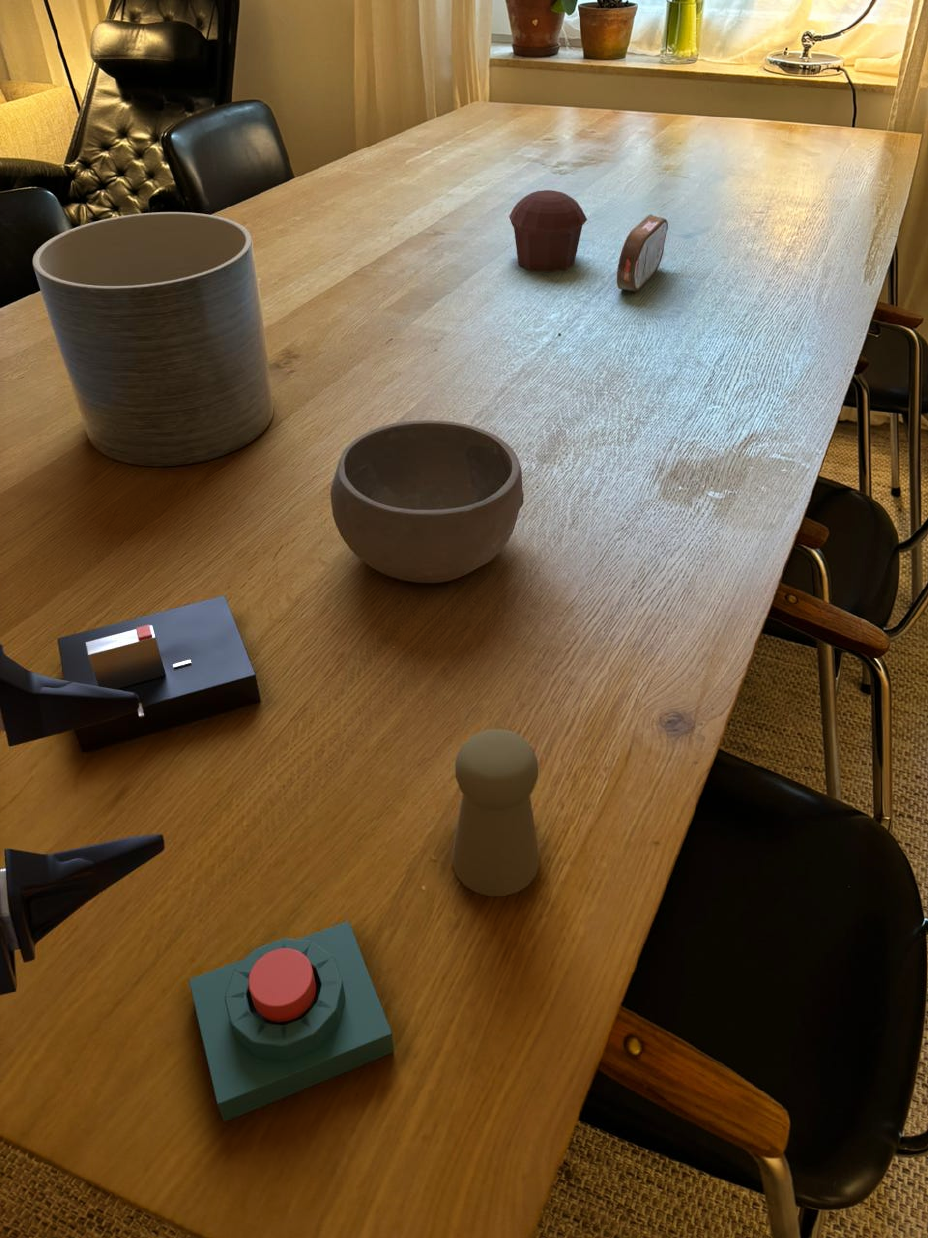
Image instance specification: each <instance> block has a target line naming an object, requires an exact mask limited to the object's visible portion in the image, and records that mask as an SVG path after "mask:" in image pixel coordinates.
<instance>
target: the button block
mask: <svg viewBox="0 0 928 1238" xmlns="http://www.w3.org/2000/svg"><path fill="white" fill-rule="evenodd" d="M283 948H287V949H294V950H297V951H299V952H301V953H302V954H304V955H305V956H306V957H307V958H308V959H309V961H310V963H311V965H312V969H313V973H314V978H315V983H316V994H315V998H314V1000H313V1002H312V1004H311V1006H310V1007H309V1008H308V1010H307V1011H306V1012H305V1013H304V1014H302V1015H301V1016H299V1017H298V1018H296V1019H294V1020H291V1021H287V1022H273V1021H270V1020H267V1019H265V1018H264V1017H262V1016H261V1015H260V1014H259V1013H258V1012H257V1010H256V1009H255V1006H254V1004H253V1000H252V997H251V993H250V990H249V985H248V980H249V975H250V972H251V970H252V968H253V966H254V965H255V963H256V962H257V961H258V960H259V959H260V958H261V957H262V956H264V955H265V954H267V953H268V952H271V951H273V950H277V949H283ZM188 984H189V987H190V991H191V996H192V1001H193V1006H194V1009H195V1014H196V1018H197V1023H198V1027H199V1031H200V1035H201V1040H202V1044H203V1049H204V1053H205V1057H206V1061H207V1065H208V1070H209V1073H210V1074H209V1075H210V1079H211V1084H212V1088H213V1092H214V1096H215V1101H216V1105H217V1107H218V1110H219V1113H220V1115H221V1118H222V1120H223V1122H224V1123H225V1122H228V1121H231V1120H234V1119H235V1118H238V1117H241V1116H243V1115H245V1114H248V1113H250V1112H253V1111H255V1110H258V1109H260V1108H262V1107H265V1106H267V1105H269V1104H272V1103H274V1102H277V1101H279V1100H281V1099H284V1098H287V1097H289V1096H292V1095H294V1094H296V1093H299V1092H301V1091H303V1090H306V1089H308V1088H310V1087H311V1088H312V1087H313V1086H315V1085H318V1084H320V1083H323V1082H325V1081H327V1080H330V1079H332V1078H334V1077H337V1076H340V1075H342V1074H344V1073H347V1072H349V1071H352V1070H354V1069H356V1068H359V1067H361V1066H364V1065H366V1064H368V1063H372V1062H374V1061H376V1060H379V1059H382V1058H383V1057H386V1056H388V1055H390V1054H393V1053H395V1048H394V1047H395V1046H394V1038H393V1032H392V1030H391V1027H390V1025H389V1022H388V1020H387V1016H386V1014H385V1012H384V1009H383V1006H382V1004H381V1001H380V999H379V996H378V993H377V991H376V988H375V985H374V982H373V979H372V977H371V975H370V973H369V970H368V967H367V965H366V962H365V960H364V957H363V953H362V952H361V949H360V946H359V943H358V941H357V938H356V936H355V934H354V931H353V928H352V925H351V923H350V921H349V920H346V921H344V922H341V923H339V924H336V925H333V926H330V927H328V928H325V929H322V930H320V931H317V932H314V933H311V934H308V935H306V936H304V937H301V938H298V939H297V938H287V937H286V938H285V937H284V938H280V939H277V940H274V941H272V942H269V943H266V944H264V945H261V946H259V947H256V948H255V949H253V950H252V951H251V952H250V953H249V954H248V955H247V956H246V957H245V958H243V959H240V960H238V961H235V962H232V963H230V964H227V965H223V966H221V967H217V968H215V969H213V970H211V971H208V972H205V973H202V974H200V975H199V974H198V975H197V976H194V977H192V978H189V979H188Z"/></svg>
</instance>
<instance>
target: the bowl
mask: <svg viewBox="0 0 928 1238" xmlns="http://www.w3.org/2000/svg"><path fill="white" fill-rule="evenodd" d="M524 496H525V495H524V490H523V473H522V467H521V463H520V460H519V457H518V455H517V454H516V452H515V451H514V449H513V448H512V446H510V445H509V444H508V443H507V441H505V440H504V439H502V438H500V437H499V436H497V435H496V434H494V433H492V432H490V431H488V430H485V429H482V428H479V427H477V426H474V425H470V424H466V423H461V422H456V421H448V420H433V419H421V420H407V421H401V422H393V423H388V424H384V425H381V426H377V427H376V428H373V429H370V430H369V431H367V432H365V433H363V434H361V435H360V436H358V437H356V438H355V439H354V440H352V441H351V442H350V443H349V444H348V445H347V446H346V447H345V449H344V450H343V451H342V453H341V455H340V457H339V461H338V464H337V467H336V470H335V473H334V476H333V479H332V483H331V488H330V504H331V511H332V517H333V520H334V523H335V526H336V528H337V530H338V532H339V535H340V536H341V538H342V539H343V541H344V543H345V544H346V545H347V547H348V548H349V549H350V550H351V551H352V553H353V554H354V555H355V556H356V557H357V558H358V559H360V561H362V562H363V563H365V564H366V565H368V566H369V567H371V568H372V569H374V570H375V571H377V572H379V573H381V574H383V575H385V576H388V577H390V578H393V579H396V580H401V581H406V582H412V583H420V584H441V583H446V582H449V581H453V580H457V579H459V578H461V577H463V576H466V575H469V574H470V573H472V572H474V571H475V570H477V569H478V568H480V567H482V566H484V565H486V564H488V563H489V562H491V561H492V560H493V559H494V558H495V557H496V556H497V555H498V554H499V553H500V552H501V550H503V548H504V547H506V545H507V543H508V542H509V541H510V538H511V536H512V535H513V533H514V530H515V529H516V524H517V520H518V516H519V514H520V509H521V508H522V507H523V505H524Z"/></svg>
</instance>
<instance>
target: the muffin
mask: <svg viewBox="0 0 928 1238" xmlns="http://www.w3.org/2000/svg"><path fill="white" fill-rule="evenodd" d="M508 217H509V220H510V223H511V225H512V227H513V231H514V239H515V247H516V255H517V263H518V266H519V267H522V268H525V269H526V270H528V271H531V272H542V273H551V272H559V271H566V270H567V269H568V268H570V267H571V266H574V265H575V263H576V257H577V254H578V249H579V243H580V239H581V233H582V229H583V225H584V224H585V223H586V222H587V221H588V218H587V217H586V214H585V213H584V211H583V209H582V207H581V205H580V204H579V203H578V201H577V200H576V199H574V198H573V197H572V196H570V195H568V194H566V193H565V192H562V191H557V190H552V189H551V190H550V189H545V190H537V191H534V192H533V191H532V192H531V193H529V194H526V195H525V196H524V197H522V198H521V199H520V200H518V202H517V203H516V204H515V206H514V207H513V208H512V210H511V213H509V215H508Z"/></svg>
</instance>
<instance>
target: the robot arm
mask: <svg viewBox="0 0 928 1238" xmlns="http://www.w3.org/2000/svg"><path fill="white" fill-rule="evenodd" d="M138 709H139V699H138V695H137V694H136V693H133V692H127V691H122V690H116V689H110V688H105V687H99V686H93V685H88V684H82V683H76V682H71V681H65V680H64V679H60V678H56V677H51V676H48V675H44V674H41V673H37V672H33V671H31V670H29V669H27V668H25V667H24V666H23V665H21V664H19V663H18V662H17V661H15V660H14V659H12V658H10V657H9V656H8V655H7V654H6V653H5V649H4V645H3V644H2V643H0V733H1V732H2V733H3V732H5V736H6V741H7V746H8V748H11V747H15V746H19V745H23V744H26V743H29V742H34V741H37V740H41V739H44V738H48V737H52V736H56V735H61V734H62V733H63V734H64V733H67V732H71V731H73V730H75V729H79V728H82V727H86V726H90V725H94V724H97V723H101V722H105V721H109V720H112V719H115V718H118V717H120V716H123V715H126V714H128V713H131V712H134V711H136V710H138ZM165 846H166V845H165V837H164V835H163V834H162V833H154V834H144V835H135V836H134V835H133V836H128V837H124V838H119V839H114V840H110V841H105V842H104V841H103V842H100V843H95V844H90V845H86V846H85V845H84V846H80V847H77V848H72V849H71V848H70V849H66V850H62V851H58V852H54V853H39V852H38V853H37V852H31V851H26V850H22V849H21V850H20V849H14V848H4V849H3V850H4V865H5V866H4V867H2V868H0V996H3V995H8V994H12V993H17V988H18V980H17V967H16V965H17V964H16V951H20V955H21V958H22V963H24V964H25V963H26V964H27V963H29V962H33V961H35V959H36V945H37V944H38V943H39V942H40V941H41V940H43V939H44V938H46V936H47V935H49V934H50V933H52V931H54V930H55V929H56V928H58V927H59V926H60V925H61V924H62V923H63V922H65V921H66V920H68V919H69V918H70V917H71V916H72V915H74V913H76V912H77V911H78V910H79V909H81V908H82V907H83V906H85V905H86V904H87V903H89V902H90V901H91V900H93V899H94V898H96V897H97V896H98V895H100V894H101V893H102V892H104V891H106V890H107V889H110V888H111V887H112V886H113V885H115V884H117V883H118V882H119V881H121V880H122V879H124V878H125V877H127V876H128V875H130V874H132V873H133V872H135V871H136V870H138V869H139V868H140V867H142V866H143V865H145V864H146V863H148V862H149V861H151V860H152V859H154V858H155V857H156V856H158V855H159V854H161V853H163V852H164V851H165V848H166V847H165Z"/></svg>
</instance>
